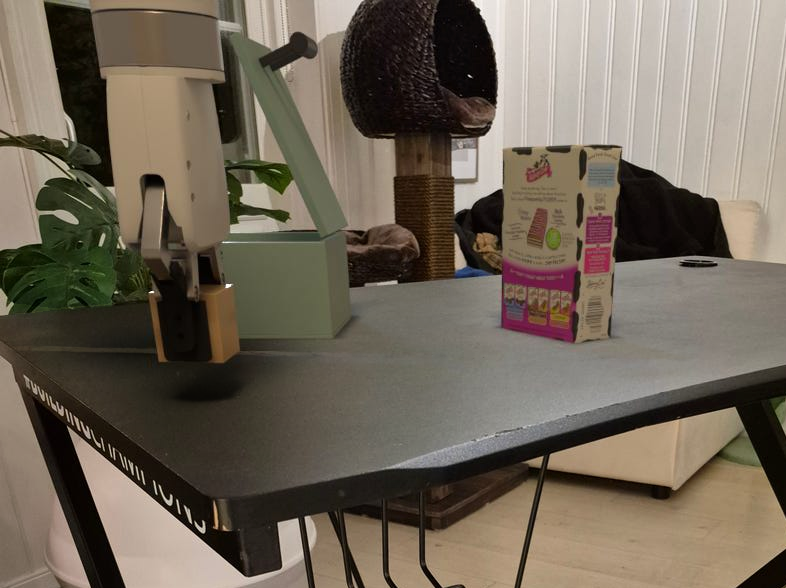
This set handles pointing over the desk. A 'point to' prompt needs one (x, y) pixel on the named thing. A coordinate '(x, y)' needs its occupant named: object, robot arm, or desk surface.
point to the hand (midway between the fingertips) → (199, 350)
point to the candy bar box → (560, 240)
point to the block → (210, 322)
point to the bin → (287, 283)
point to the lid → (291, 123)
